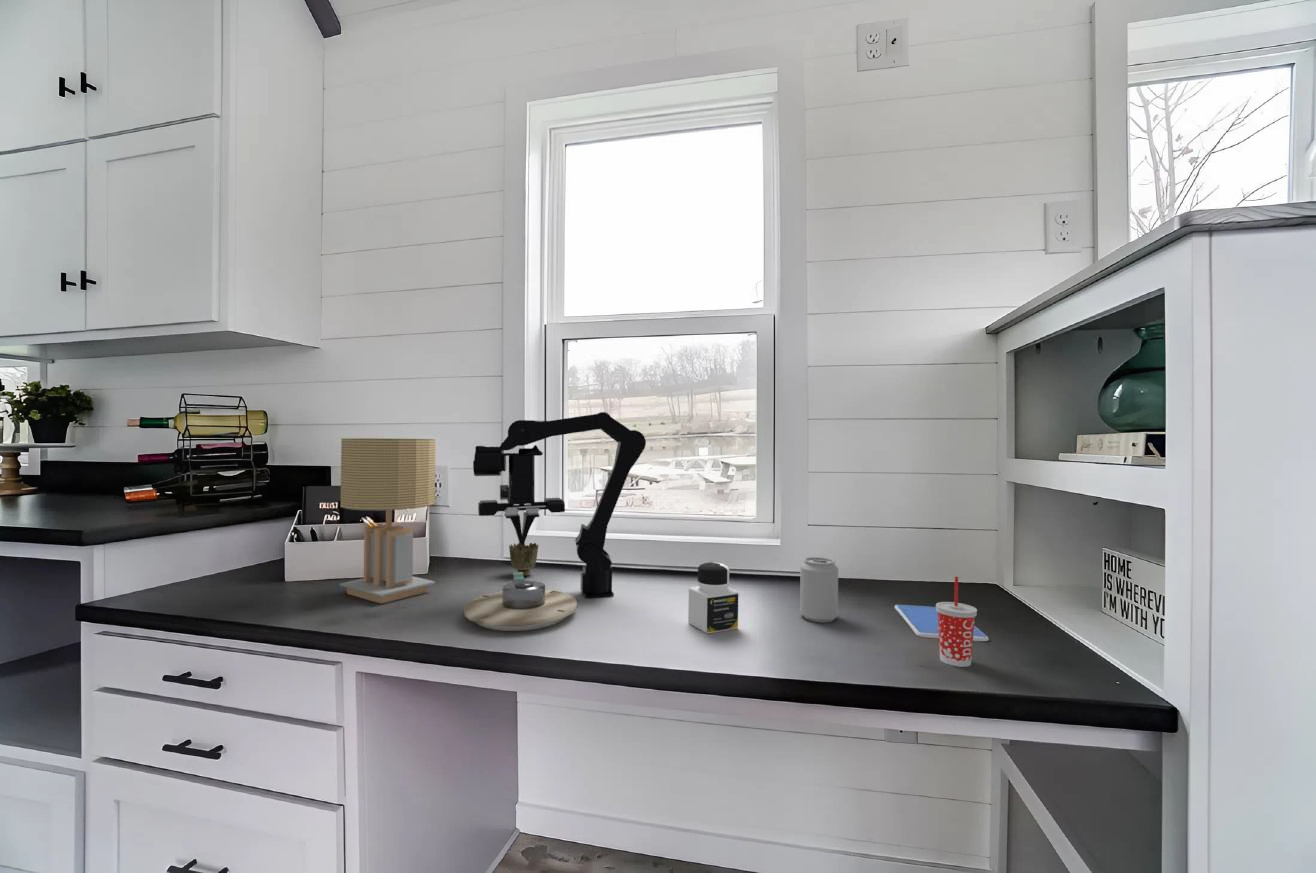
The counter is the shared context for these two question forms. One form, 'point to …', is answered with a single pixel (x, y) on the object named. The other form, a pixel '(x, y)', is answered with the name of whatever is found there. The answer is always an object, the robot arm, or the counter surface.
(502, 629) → the turntable base
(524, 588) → the iron cover
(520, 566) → the cup
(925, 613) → the tablet computer
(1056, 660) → the counter surface
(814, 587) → the can
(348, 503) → the desk lamp
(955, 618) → the beverage cup
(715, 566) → the medicine bottle
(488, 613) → the turntable
